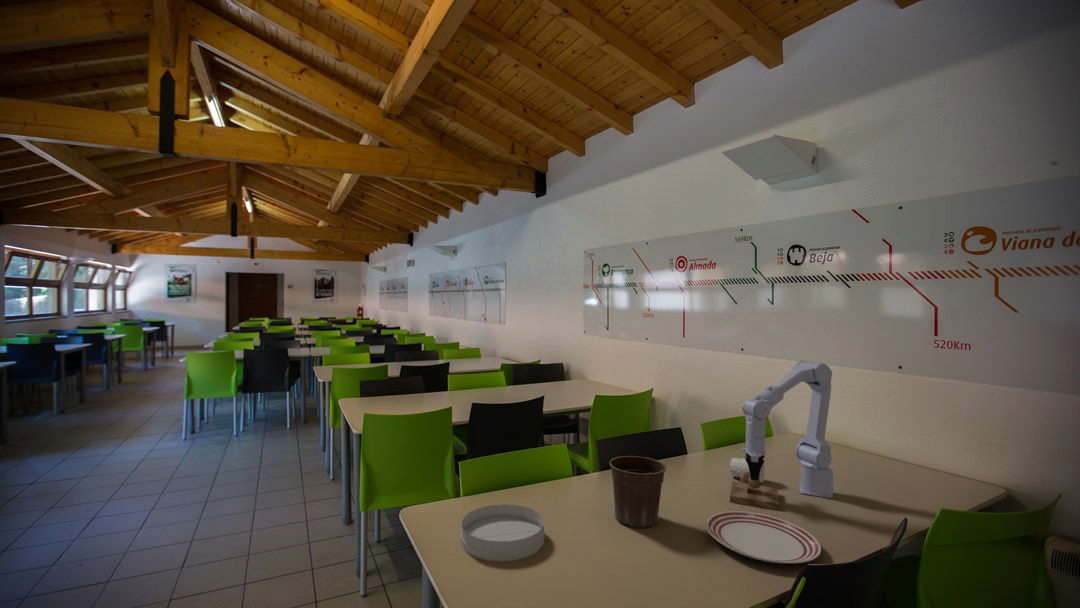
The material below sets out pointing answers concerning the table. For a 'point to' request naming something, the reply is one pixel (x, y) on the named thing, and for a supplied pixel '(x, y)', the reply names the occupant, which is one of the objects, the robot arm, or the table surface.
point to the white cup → (742, 468)
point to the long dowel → (754, 482)
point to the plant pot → (637, 489)
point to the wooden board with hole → (754, 495)
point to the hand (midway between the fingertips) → (754, 477)
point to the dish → (502, 532)
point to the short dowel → (745, 477)
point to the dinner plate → (763, 537)
